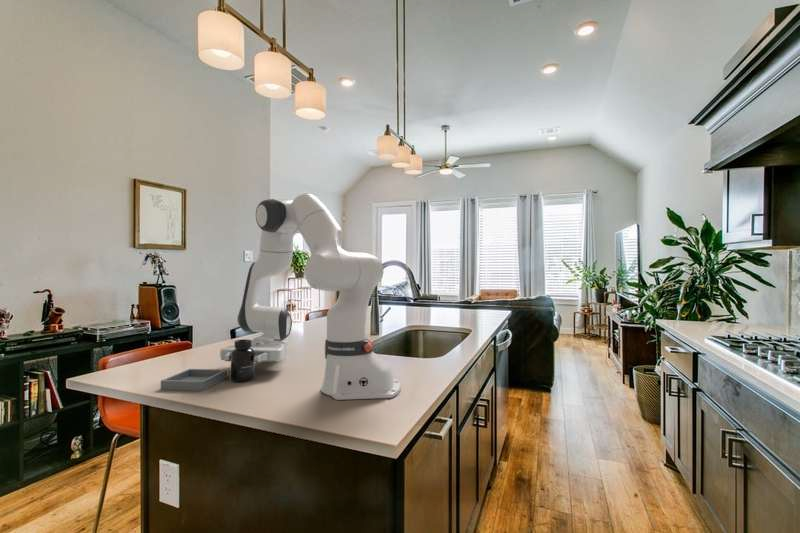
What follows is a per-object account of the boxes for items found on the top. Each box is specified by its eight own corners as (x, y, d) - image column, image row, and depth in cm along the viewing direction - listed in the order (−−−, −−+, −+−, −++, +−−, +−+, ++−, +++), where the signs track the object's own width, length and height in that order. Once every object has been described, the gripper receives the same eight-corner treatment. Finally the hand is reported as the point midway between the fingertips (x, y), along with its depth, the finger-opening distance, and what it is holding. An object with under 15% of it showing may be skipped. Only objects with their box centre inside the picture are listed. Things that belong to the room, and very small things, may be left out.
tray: (227, 377, 119) (227, 369, 119) (202, 390, 106) (202, 381, 106) (189, 376, 120) (189, 368, 120) (160, 389, 107) (160, 380, 107)
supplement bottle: (246, 383, 113) (245, 343, 113) (225, 382, 114) (225, 342, 114) (259, 376, 120) (258, 338, 120) (239, 375, 121) (239, 338, 121)
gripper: (232, 339, 131) (209, 348, 117) (290, 340, 129) (273, 349, 115) (232, 357, 131) (209, 368, 117) (290, 358, 129) (273, 370, 115)
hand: (241, 359), depth 116 cm, fingers open, 8 cm apart
